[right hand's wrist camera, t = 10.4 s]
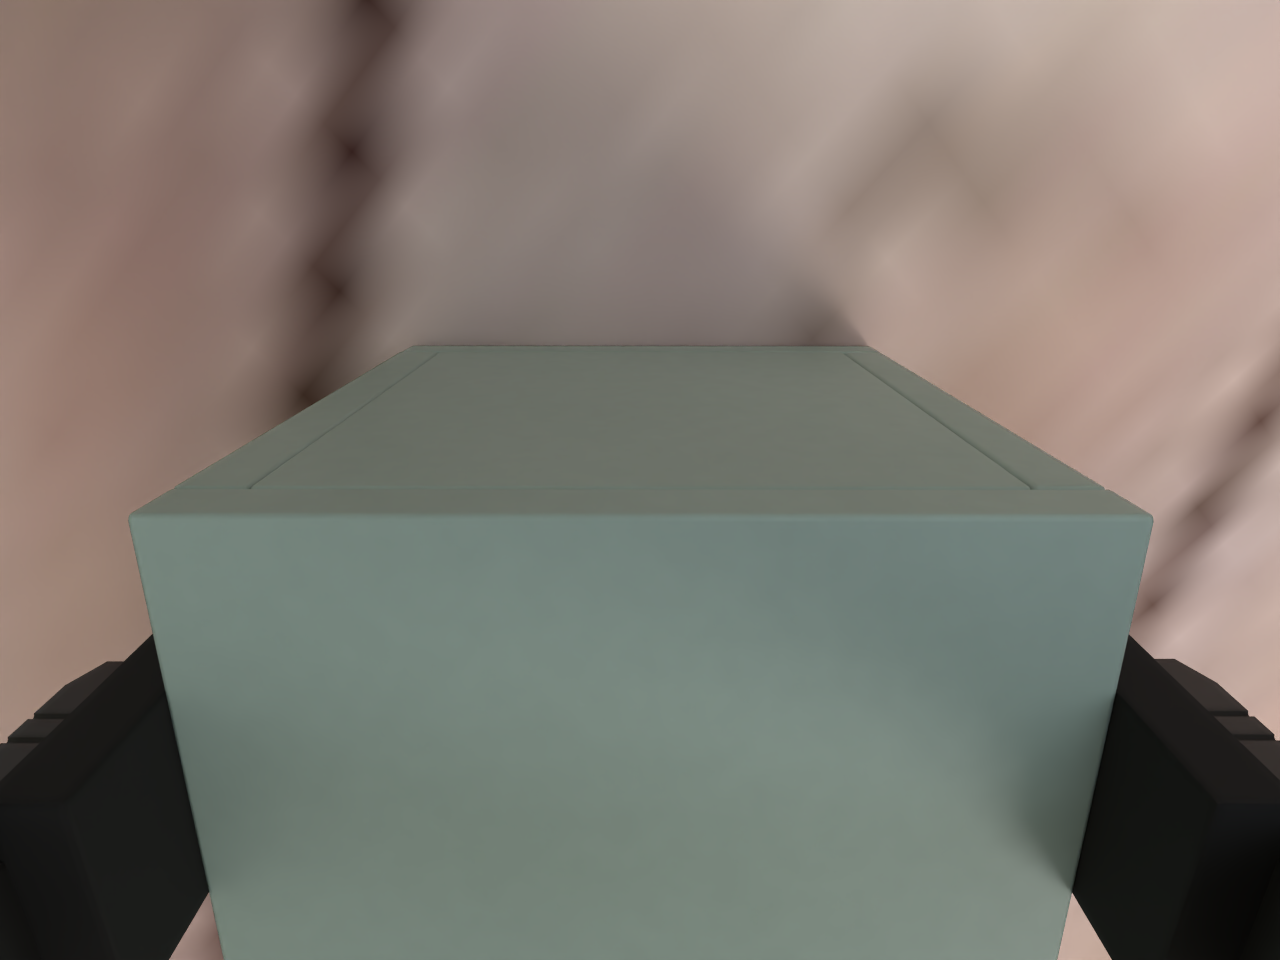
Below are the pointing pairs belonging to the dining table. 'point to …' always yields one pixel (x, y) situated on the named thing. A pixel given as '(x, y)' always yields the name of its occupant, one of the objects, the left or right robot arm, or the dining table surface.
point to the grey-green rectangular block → (640, 662)
